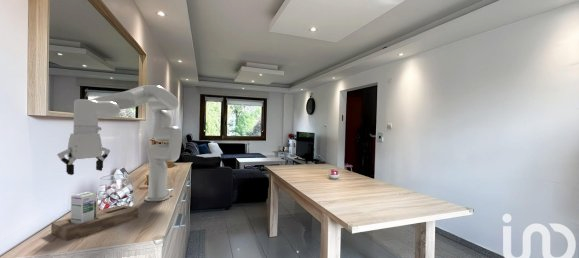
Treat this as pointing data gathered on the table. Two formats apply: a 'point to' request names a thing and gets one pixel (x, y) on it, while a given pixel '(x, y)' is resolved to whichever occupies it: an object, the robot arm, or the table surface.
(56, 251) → the table surface
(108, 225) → the socket block
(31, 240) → the table surface
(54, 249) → the table surface
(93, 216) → the syrup box
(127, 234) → the table surface
